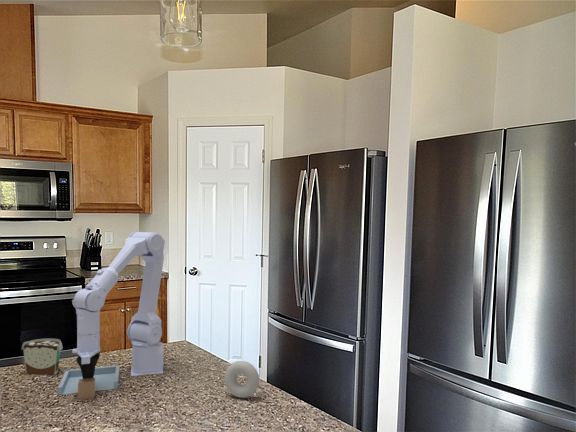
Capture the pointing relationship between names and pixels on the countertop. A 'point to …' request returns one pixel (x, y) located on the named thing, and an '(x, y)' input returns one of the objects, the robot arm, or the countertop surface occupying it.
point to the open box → (103, 377)
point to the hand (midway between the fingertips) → (88, 381)
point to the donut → (233, 384)
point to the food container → (42, 356)
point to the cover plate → (86, 390)
